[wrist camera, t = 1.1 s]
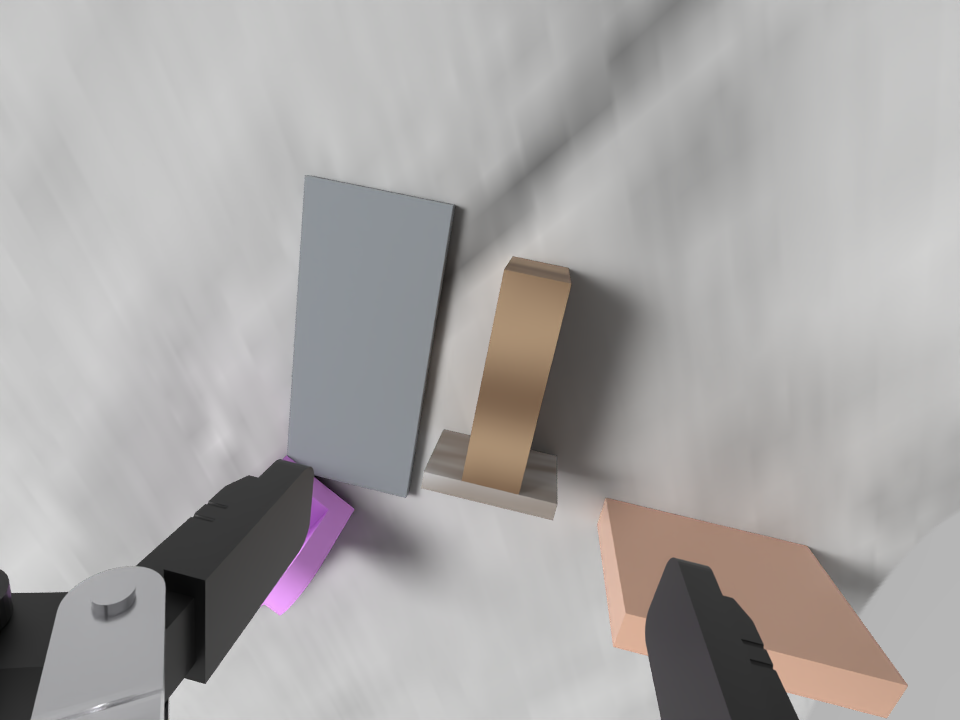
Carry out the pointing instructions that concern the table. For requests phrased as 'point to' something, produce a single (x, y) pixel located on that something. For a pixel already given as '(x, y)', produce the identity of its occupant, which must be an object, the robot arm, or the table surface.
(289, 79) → the table surface
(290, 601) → the bracket
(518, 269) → the upright plank on base
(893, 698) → the tile
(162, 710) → the robot arm
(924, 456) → the table surface
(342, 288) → the mat
